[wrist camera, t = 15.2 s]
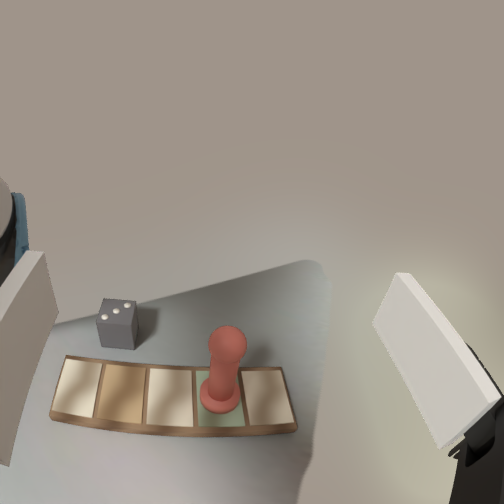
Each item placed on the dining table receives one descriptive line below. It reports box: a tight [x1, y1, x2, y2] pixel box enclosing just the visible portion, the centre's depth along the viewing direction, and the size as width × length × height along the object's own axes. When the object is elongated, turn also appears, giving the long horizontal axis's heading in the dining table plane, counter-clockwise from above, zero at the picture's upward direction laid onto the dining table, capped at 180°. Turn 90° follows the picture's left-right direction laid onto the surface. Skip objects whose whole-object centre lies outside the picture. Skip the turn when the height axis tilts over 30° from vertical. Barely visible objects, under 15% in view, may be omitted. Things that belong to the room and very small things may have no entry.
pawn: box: [200, 326, 247, 414], centre depth 32 cm, size 5×5×12 cm
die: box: [96, 299, 138, 350], centre depth 41 cm, size 5×5×5 cm
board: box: [49, 355, 297, 437], centre depth 34 cm, size 30×10×1 cm, turn 98°
